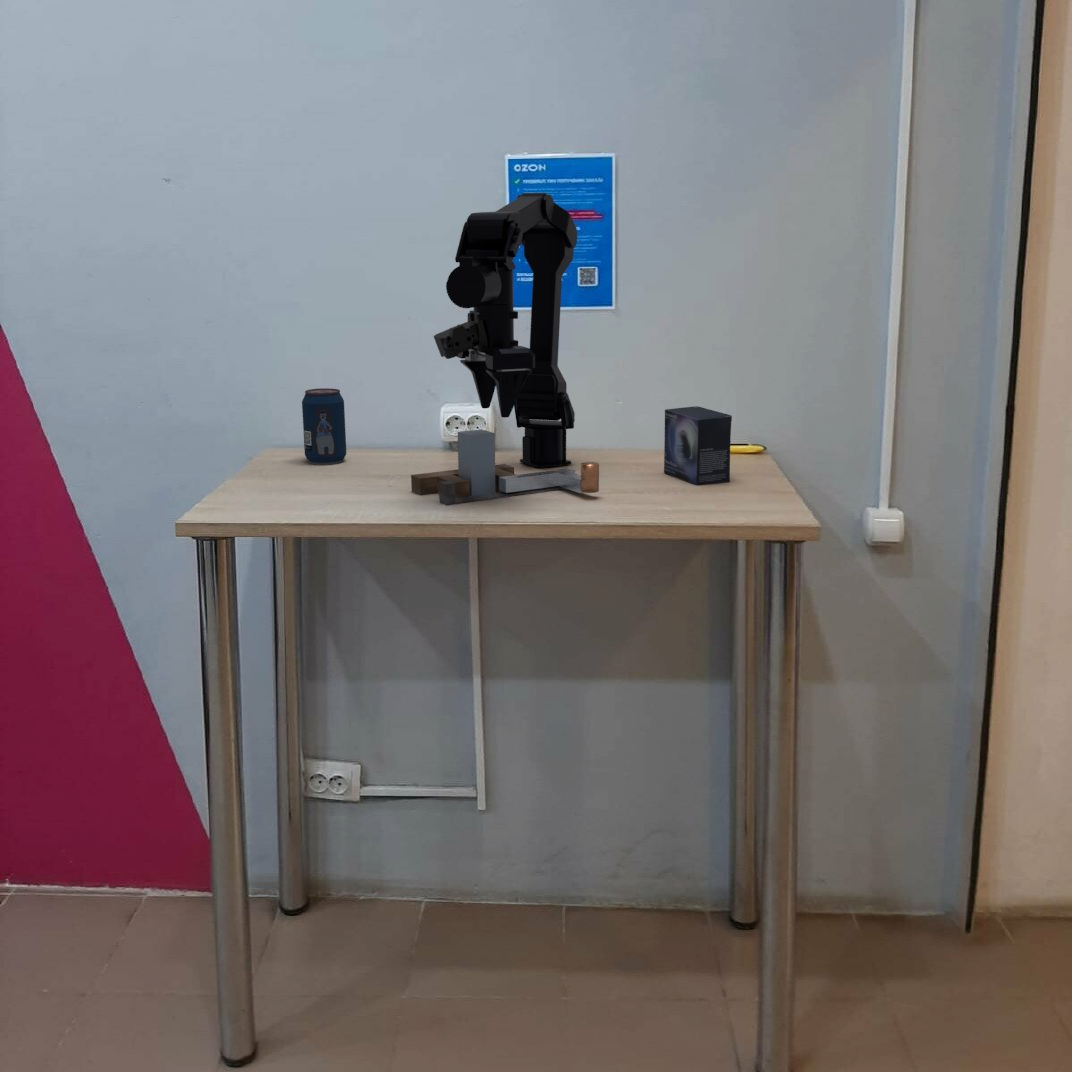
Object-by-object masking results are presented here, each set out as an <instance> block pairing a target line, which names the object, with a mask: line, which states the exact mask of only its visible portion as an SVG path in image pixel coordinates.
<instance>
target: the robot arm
mask: <svg viewBox="0 0 1072 1072" xmlns="http://www.w3.org/2000/svg"><path fill="white" fill-rule="evenodd" d="M577 243H578V230H577V226H576V224H575V221H574V220H573V217H572V215H571V213H570V212H569V211H567V210H565V209H564V208H563V207H561V206H560V205H558V204H557V203H556V202H555V201H554V198H553V196H552V195H551V194H547V193H546V192H524V193H523V192H522V194H518V195H517V196H516V199H514V200H512V201H511V202H509V203H508V204H506V205H504V206H502V207H501V208H499V209H498V210H496V211H481V212H472V213H471V212H470V214H469V215H468V216H467V218H466V221H465V222H464V224H463V227H462V230H461V235H460V238H459V243H458V247H457V250H456V255H455V257H454V261H455V263H459V265H458V266H457V267H455V268H454V269H452V270H451V272H450V273H449V275H448V276H447V277H448V278H447V281H446V283H445V289H446V294H447V296H448V298H449V300H450V301H451V302H452V303H453V305H455V306H457V307H459V308H462V309H473V310H469V312H467V321H465V322H463V323H461V324H457V325H455V326H453V327H450V328H448V329H445V330H443V331H441V332H438V333H436V334H434V335H433V338H434V341H435V344H436V346H437V349H438V352H439V354H440V357H442V358H443V357H445V359H447V360H449V359H453V358H455V357H456V358H458V359H459V362H460V364H462V365H463V366H464V367H466V368H467V369H468V370H469V371H470V372H471V376H472V377H473V382H474V385H475V388H476V394H477V395H478V400H479V402H480V407H481V408H482V409H489V408H490V406H491V403H492V401H493V398H494V397H493V396H494V393H495V389H496V394H497V400H498V408H499V413H500V417H501V418H509V417H510V416H511V413H512V411H513V409H514V415H515V421H516V422H515V423H516V427H517V428H518V429H519V428H524V436H522V445H521V446H522V458H519V463H522V464H525V465H528V466H532V467H535V468H538V469H543V468H550V467H559V466H567V465H571V464H572V461H571V460H568V459H567V430H571V429H574V428H575V420H576V419H575V418H576V417H575V415H576V413H575V410H574V407H573V404H572V402H571V399H570V397H569V394H568V393H567V388H568V387H567V381H566V380H565V378H564V375H563V374H562V373H561V369H559V366H558V363H559V342H560V325H561V324H560V321H561V304H562V303H561V302H562V285H563V284H562V280H563V275H564V274H565V272H566V271H567V269H568V268H569V266H570V265H571V263H572V262H573V259H574V250H575V248H576V246H577ZM521 245H522V247H523V257H524V259H525V261H526V263H527V264H528V266H529V268H530V270H531V271H532V288H531V289H532V291H531V311H530V332H529V333H530V334H529V347H527V346H522V345H519V340H517V339H515V336H514V334H515V333H514V332H515V331H514V329H515V326H514V325H515V324H514V323H515V322H514V321H515V320H517V319H519V311H516V310H514V271H515V270H516V265H515V262H514V261H513V260H514V258H516V257H517V255H518V251H519V248H520V246H521Z"/></svg>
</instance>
